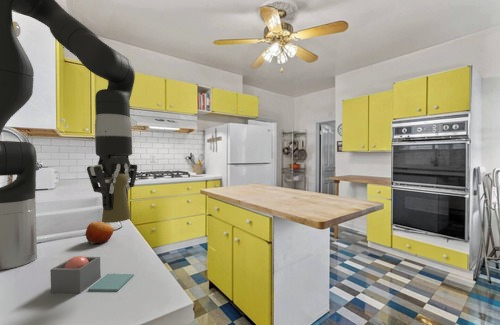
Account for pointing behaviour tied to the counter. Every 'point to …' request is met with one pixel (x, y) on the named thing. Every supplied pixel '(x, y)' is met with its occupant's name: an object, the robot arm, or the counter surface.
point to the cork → (118, 201)
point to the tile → (111, 282)
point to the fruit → (99, 232)
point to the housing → (75, 277)
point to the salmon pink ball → (76, 262)
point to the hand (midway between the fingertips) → (116, 207)
